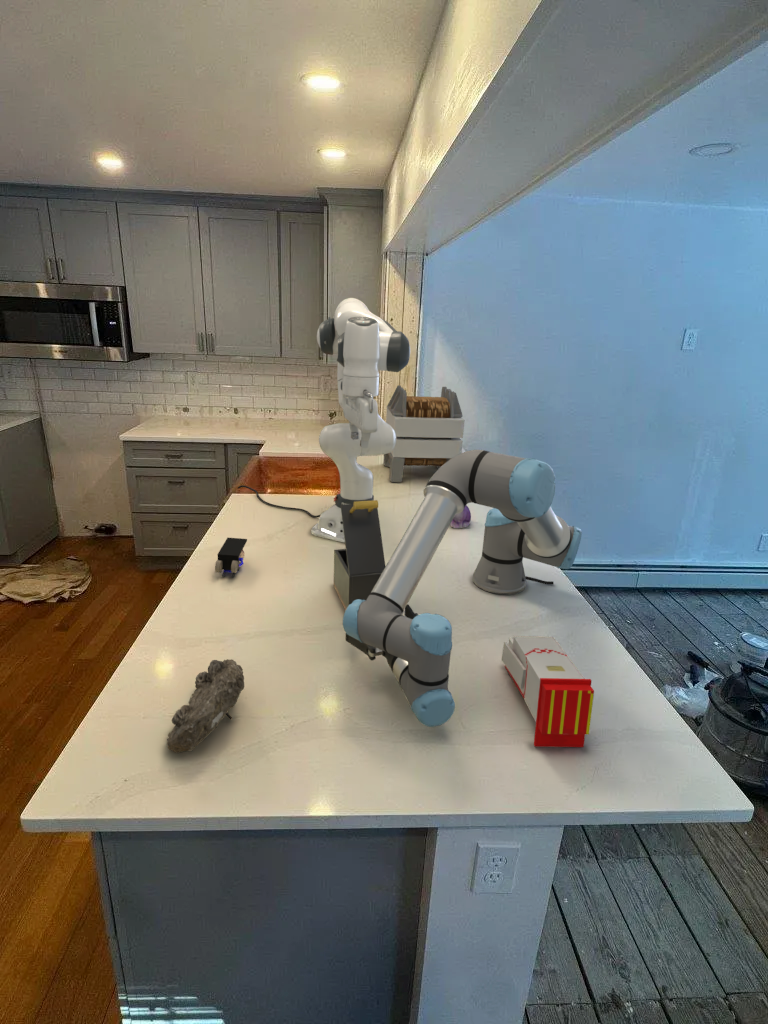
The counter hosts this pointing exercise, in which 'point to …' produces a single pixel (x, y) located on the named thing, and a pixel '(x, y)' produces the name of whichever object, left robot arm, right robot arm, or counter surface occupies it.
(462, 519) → the figurine
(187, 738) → the fossil
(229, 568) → the figurine character
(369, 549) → the lid
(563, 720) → the toy
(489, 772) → the counter surface
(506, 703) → the counter surface
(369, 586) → the chest
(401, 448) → the transformer
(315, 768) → the counter surface
